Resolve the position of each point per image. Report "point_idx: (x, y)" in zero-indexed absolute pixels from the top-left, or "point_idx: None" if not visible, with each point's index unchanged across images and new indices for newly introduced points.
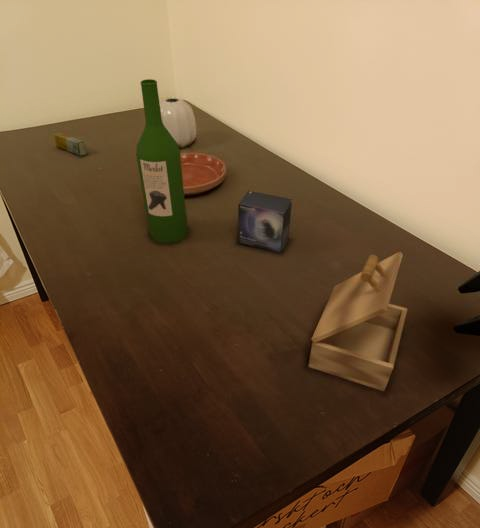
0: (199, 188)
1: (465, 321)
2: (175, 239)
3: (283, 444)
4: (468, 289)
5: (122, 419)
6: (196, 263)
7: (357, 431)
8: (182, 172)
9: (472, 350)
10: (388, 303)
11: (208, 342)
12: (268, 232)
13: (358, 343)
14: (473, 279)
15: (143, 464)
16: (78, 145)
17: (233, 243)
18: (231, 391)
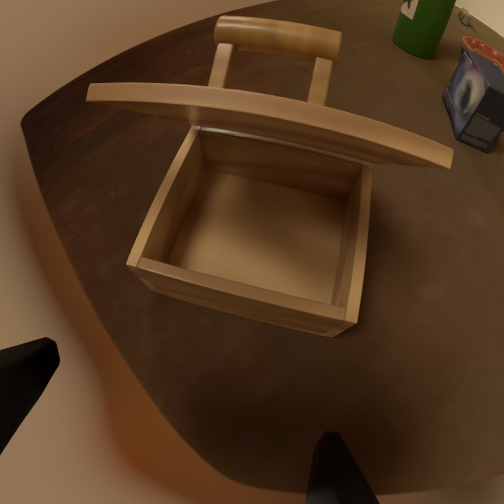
0: None
1: (10, 359)
2: (403, 46)
3: (76, 158)
4: (315, 476)
5: (132, 51)
6: (379, 59)
7: (79, 241)
8: (502, 70)
9: (300, 490)
10: (119, 99)
11: (236, 70)
12: (464, 99)
13: (267, 243)
14: (338, 499)
15: (86, 75)
16: (464, 15)
17: (439, 92)
18: None
